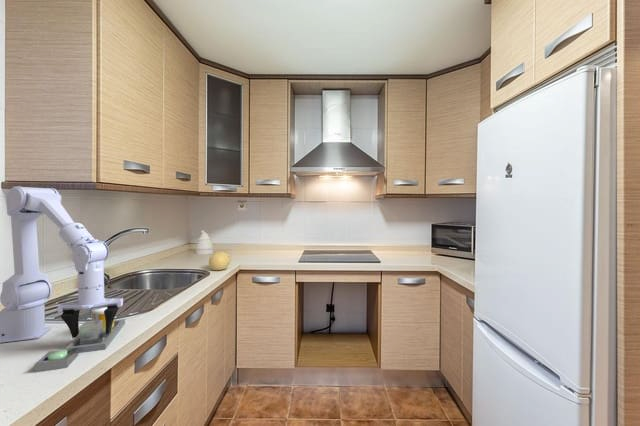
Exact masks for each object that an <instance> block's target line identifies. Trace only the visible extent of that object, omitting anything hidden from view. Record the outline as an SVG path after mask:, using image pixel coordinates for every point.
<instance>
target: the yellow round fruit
mask: <svg viewBox="0 0 640 426" xmlns="http://www.w3.org/2000/svg"><path fill="white" fill-rule="evenodd" d="M231 261H232V256H231V254H228V253H226V252H225V251H217V252H213V253H212V255H210V257H209V260H208V267H209V268H210V270H212V271H221V270H222V271H223V270H227V269H228V267H229V265H230V264H231Z"/></svg>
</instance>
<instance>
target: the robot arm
mask: <svg viewBox="0 0 640 426" xmlns="http://www.w3.org/2000/svg"><path fill="white" fill-rule="evenodd" d="M5 195H6V196H5V201H6V202H5V203H6V214H7V216H9V217H10V222H11V226H10V227H11V237H12V238H11V239H12V252H13V254H12V256H13V257H12V258H13V271H14V274H13V275H12V276H10V277H9V278H8V279H5V281H3V282H2V284H1V285H2V290H1V293H0V303H1V305H2V306H3V307H4V308H2V309H1V310H0V344H1V343H2V344H3V343H9V342H17V341H19V342H20V341H27V340H36V339H39V338H41V337H42V336H43V335H44V334H46V333H47V332H48V331H50V330H51V329H52V326H46V319H45V317H46V316H45V314H46V313H45V303H48V299H50V298H51V296H52V294H53V286H52V284H51V282H50V275H48V274H47V273H46V274H45V273H44V272H41V271H40V261H39V259H40V258H39V245H38V229H37V227H38V226H37V220H38V219H39V218H40V217H41V216H43V215H45V216H46V218H48V219H49V220H50V221H52V223H53V224H54V225H55V226H56V227H58V228H59V229H60V230H59V231H58V236H59V237H60V238H61V239H62V241H63V242H64V243H65V244H66V245H67V246H68V248H69V249H70V250H71V251H72V253H71V254H70V256H71V260H72V262H73V263H74V269H75V271H76V272H77V298H78V299H77V301H69V302H64V303H60V304H58V305H57V313H58V314H59V313H60V314H61V313H62V314H61V315H60V318H61V319H62V320H63V322H64V323H65V324H66V326H67V328H68V330H69V332H70V335H71V338H72V339H75V338H76V337H77V336H79V335H80V326H79V324H80V323H79V320H80V311H81V310H82V311H84V310H93V309H94V308H105V307H107V309H106V310H104V314H105V321H106V330H105V331H106V334H109V333H110V332H111V328H112V324H113V320H115V317H116V316H117V315H116V314H117V313H118V311H119V308H121V307H122V306H123V305H124V297H117V298H114V297H113V298H110V297H108V298H106V297H105V263H104V262H105V261H106V260H107V259H108V257H109V256H110V249H109V247H108V245H107V243H106V242H105V241H102V240H99V239H98V238H97V239H95V238H94V237H93V235H92V234H91V233H90V232H89V231H88V230H87V228H86V227H85V226H84V224H83V223H80V222H75V221H74V220H73V219H72V217H71V216H70V215H69V213H68V212H67V210H66V209H65V207H64V206H63V204H62V195H61V194H60V193H59V191H58V190H57V189H56V188H53V187H48V188H47V187H46V188H45V187H28V186H27V187H26V186H19V185H18V186H17V185H15V186H13V187H12V188H10V189H9V190H8V192H7V193H6V194H5Z"/></svg>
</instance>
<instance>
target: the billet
mask: <svg viewBox="0 0 640 426" xmlns="http://www.w3.org/2000/svg"><path fill="white" fill-rule="evenodd" d="M79 335H80V344H79V346H81V345H88V344H96V343H103V341H104V338H103V320H95V321H92V320H86V321H85V322H84V323H83V324H81V325H80V326H79Z"/></svg>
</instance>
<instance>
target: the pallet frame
mask: <svg viewBox="0 0 640 426" xmlns="http://www.w3.org/2000/svg"><path fill="white" fill-rule="evenodd" d="M125 325H126V319H123V318H122V319H114V329H113V330H111V332H110V333H109V334H106V331H103V341H102V342H101V343H96V344H88V345H81V346H80V334H79V335H78V336H77V337H76V338H73V340H72V341H71V342H70V343H69V344H68V345H67V346H66V347H65V348H64V349H72V348H78V354H81V353H87V352H88V353H89V352H97V351H103V350H104V351H105V350H106V349H107V348H108V347H109V345H110V344H111V343H112V342H113V340H114V339H115V338H116V336H117V335H118V334H119V332H120V331H121V330H122V328H124V326H125ZM104 338H105V339H104Z"/></svg>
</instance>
